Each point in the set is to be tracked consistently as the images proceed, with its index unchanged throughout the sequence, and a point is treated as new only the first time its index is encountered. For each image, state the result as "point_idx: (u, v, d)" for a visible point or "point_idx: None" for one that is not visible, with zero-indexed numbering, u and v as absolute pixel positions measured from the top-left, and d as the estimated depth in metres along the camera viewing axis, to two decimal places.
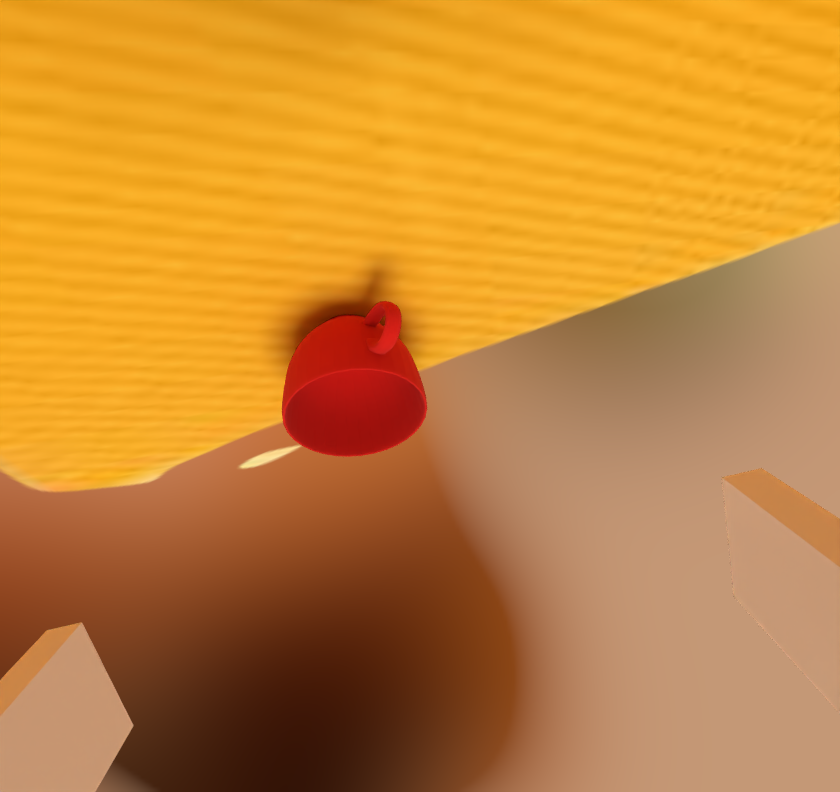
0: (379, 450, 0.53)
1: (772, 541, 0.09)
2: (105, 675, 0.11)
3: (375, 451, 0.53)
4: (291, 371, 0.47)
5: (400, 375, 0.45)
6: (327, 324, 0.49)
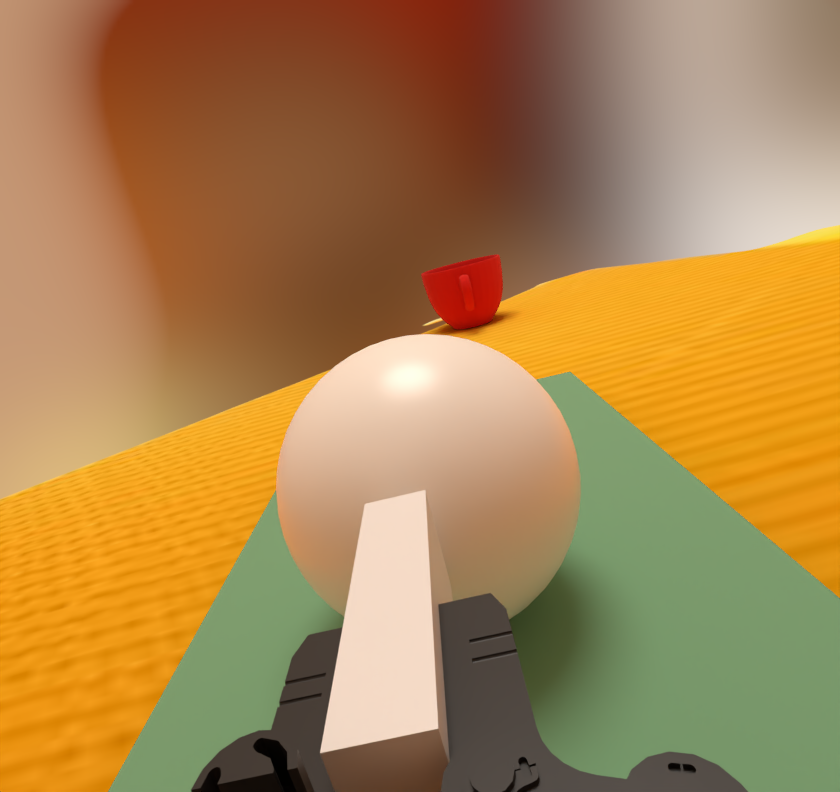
0: (436, 269, 0.93)
1: None
2: None
3: (438, 268, 0.93)
4: (501, 273, 0.86)
5: (449, 269, 0.82)
6: (491, 304, 0.85)
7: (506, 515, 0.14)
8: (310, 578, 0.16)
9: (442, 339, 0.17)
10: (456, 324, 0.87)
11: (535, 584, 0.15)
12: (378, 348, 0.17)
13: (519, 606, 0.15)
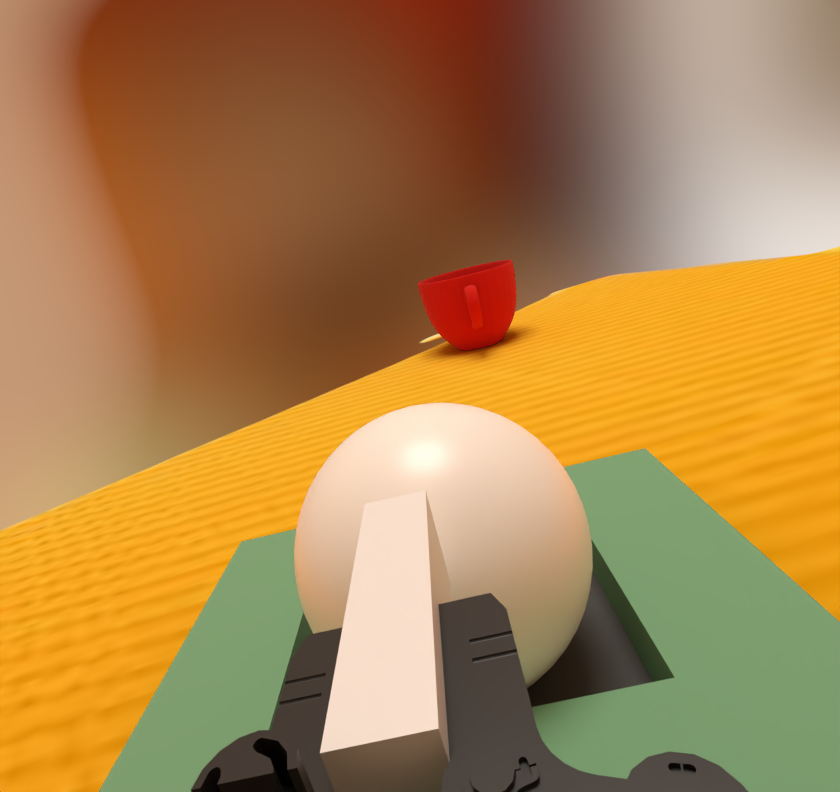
0: (435, 276, 0.77)
1: None
2: None
3: (438, 276, 0.78)
4: (515, 283, 0.71)
5: (452, 279, 0.67)
6: (503, 320, 0.70)
7: None
8: None
9: None
10: (460, 344, 0.72)
11: None
12: None
13: None
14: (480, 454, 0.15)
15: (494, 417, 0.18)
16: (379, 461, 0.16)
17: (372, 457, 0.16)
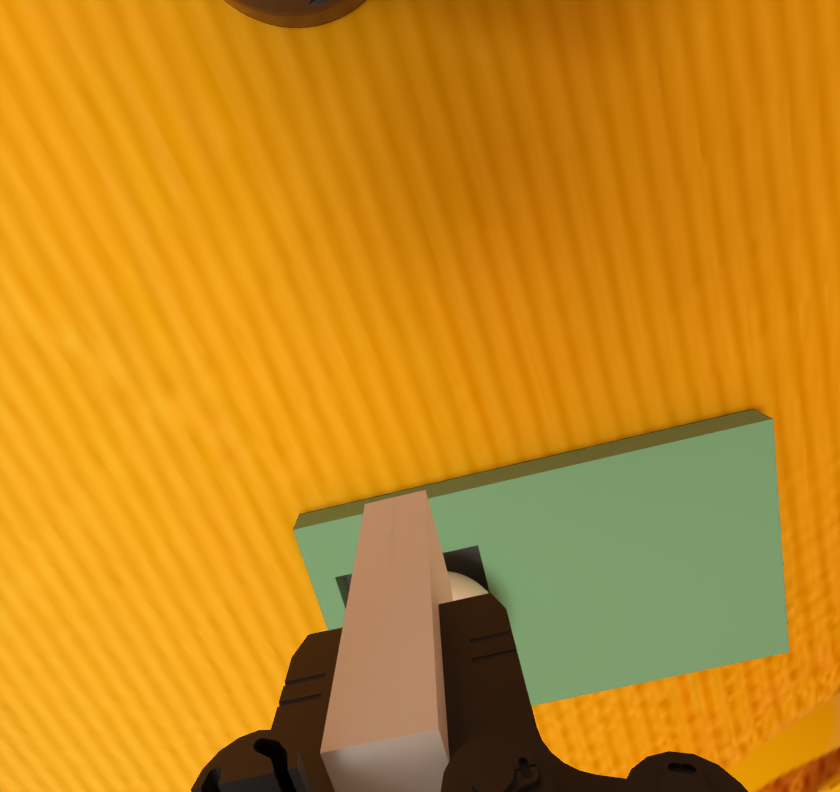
0: None
1: None
2: None
3: None
4: None
5: None
6: None
7: None
8: None
9: None
10: None
11: None
12: None
13: None
14: None
15: None
16: None
17: None
